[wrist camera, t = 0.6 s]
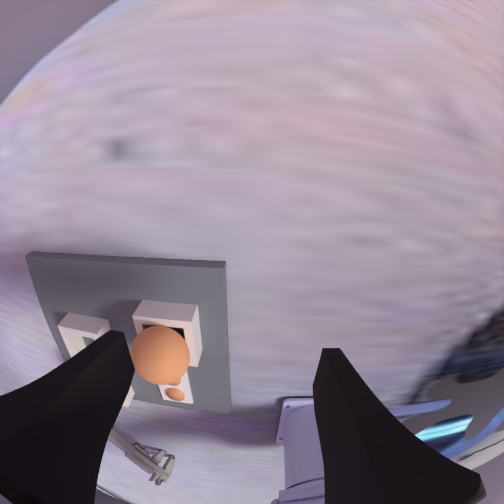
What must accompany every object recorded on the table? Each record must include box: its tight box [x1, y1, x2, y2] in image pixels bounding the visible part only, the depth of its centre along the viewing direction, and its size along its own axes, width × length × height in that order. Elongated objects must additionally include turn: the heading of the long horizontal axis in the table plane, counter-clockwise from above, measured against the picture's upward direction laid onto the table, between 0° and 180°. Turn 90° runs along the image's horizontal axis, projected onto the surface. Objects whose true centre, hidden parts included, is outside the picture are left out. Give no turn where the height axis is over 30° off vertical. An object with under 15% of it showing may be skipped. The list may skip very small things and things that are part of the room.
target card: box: [159, 371, 194, 404], centre depth 23 cm, size 5×3×1 cm, turn 179°
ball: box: [130, 326, 190, 385], centre depth 17 cm, size 4×4×4 cm
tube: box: [132, 300, 203, 367], centre depth 19 cm, size 4×4×2 cm
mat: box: [26, 252, 231, 413], centre depth 22 cm, size 16×18×1 cm
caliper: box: [108, 428, 175, 485], centre depth 27 cm, size 20×1×6 cm, turn 41°
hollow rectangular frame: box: [57, 313, 135, 408], centre depth 21 cm, size 10×4×2 cm, turn 179°
